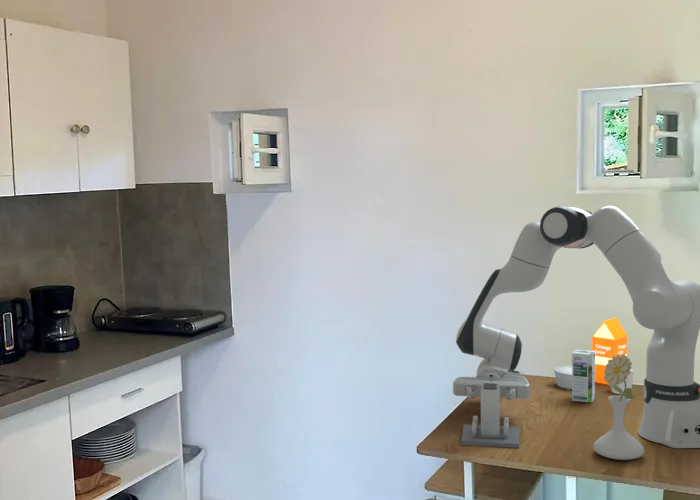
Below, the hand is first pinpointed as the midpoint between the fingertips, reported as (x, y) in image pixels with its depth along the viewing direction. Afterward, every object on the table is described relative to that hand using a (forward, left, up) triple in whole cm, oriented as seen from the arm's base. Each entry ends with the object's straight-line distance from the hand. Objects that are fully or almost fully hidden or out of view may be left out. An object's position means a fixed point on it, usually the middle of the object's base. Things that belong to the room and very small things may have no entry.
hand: (490, 395), depth 201 cm
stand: (0, +6, -9) cm, 11 cm away
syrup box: (-26, -32, -9) cm, 43 cm away
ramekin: (-24, -47, -9) cm, 54 cm away
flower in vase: (-30, +15, -9) cm, 35 cm away
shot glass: (-38, -42, -9) cm, 58 cm away
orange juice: (-36, -55, -9) cm, 67 cm away
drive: (0, +6, -8) cm, 10 cm away
